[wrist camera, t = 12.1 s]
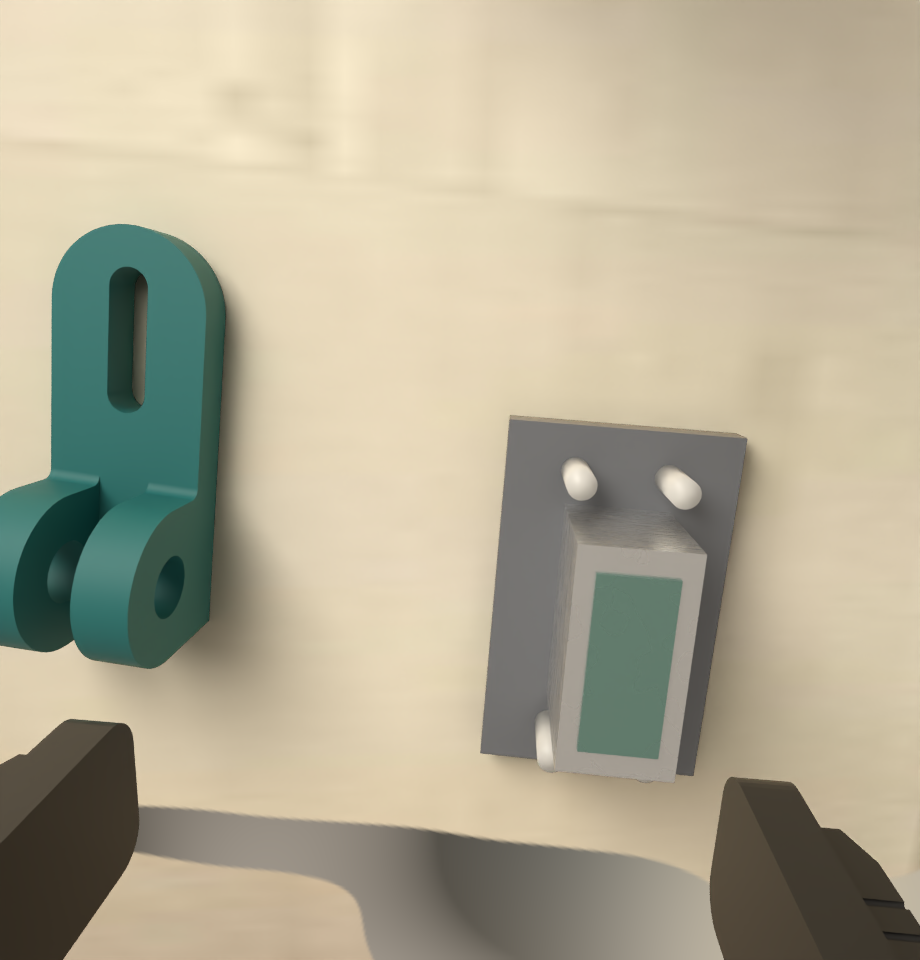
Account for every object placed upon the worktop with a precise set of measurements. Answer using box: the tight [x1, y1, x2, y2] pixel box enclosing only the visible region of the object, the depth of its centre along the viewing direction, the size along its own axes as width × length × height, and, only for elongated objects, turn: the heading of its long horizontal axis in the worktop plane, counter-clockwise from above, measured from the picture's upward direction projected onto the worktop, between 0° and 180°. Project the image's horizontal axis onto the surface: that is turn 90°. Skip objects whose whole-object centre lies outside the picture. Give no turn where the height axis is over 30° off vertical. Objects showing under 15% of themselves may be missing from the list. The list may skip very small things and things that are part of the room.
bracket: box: [0, 224, 226, 669], centre depth 29 cm, size 18×7×8 cm, turn 173°
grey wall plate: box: [480, 415, 747, 783], centre depth 31 cm, size 16×10×4 cm, turn 176°
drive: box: [547, 504, 707, 783], centre depth 28 cm, size 9×4×6 cm, turn 176°
